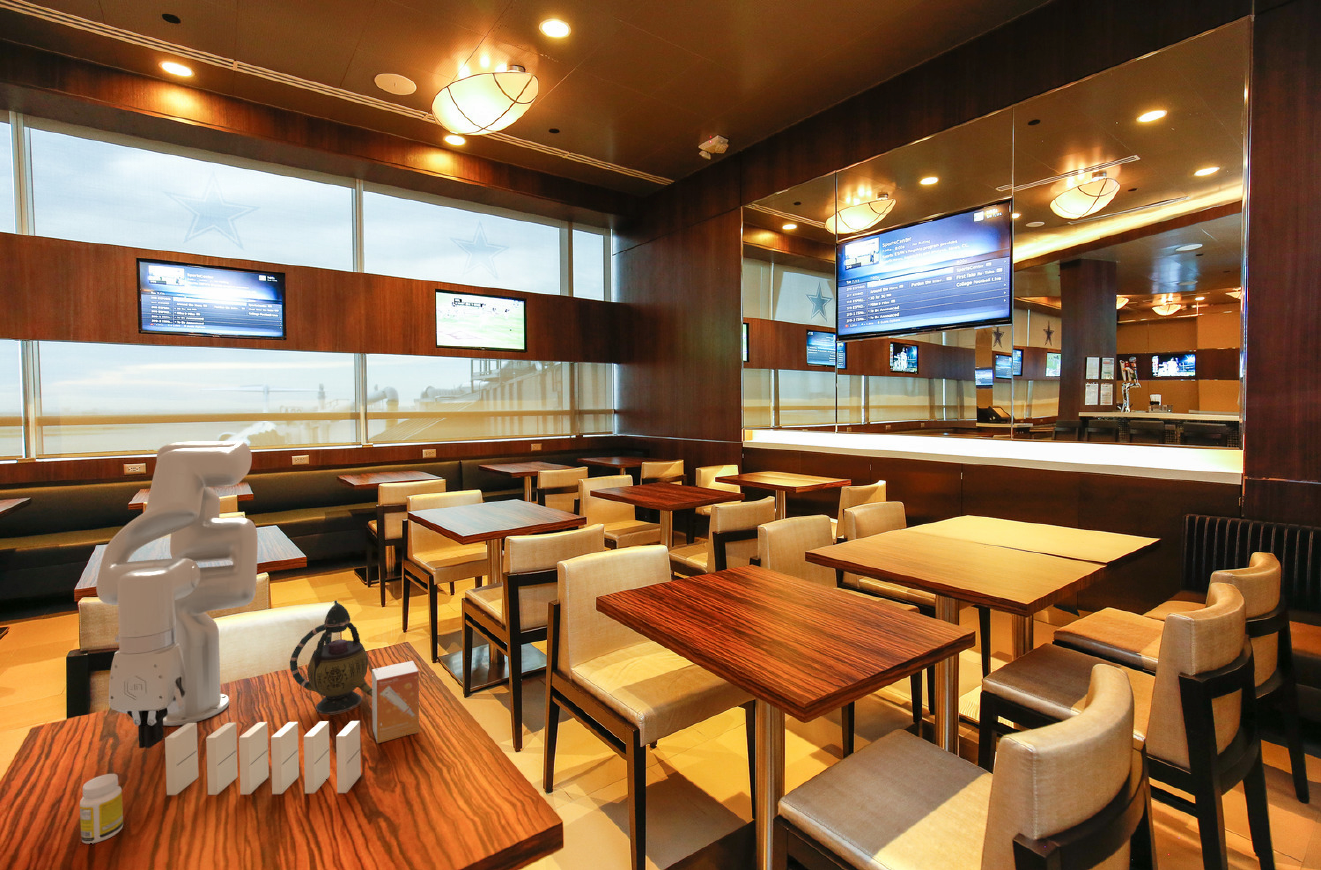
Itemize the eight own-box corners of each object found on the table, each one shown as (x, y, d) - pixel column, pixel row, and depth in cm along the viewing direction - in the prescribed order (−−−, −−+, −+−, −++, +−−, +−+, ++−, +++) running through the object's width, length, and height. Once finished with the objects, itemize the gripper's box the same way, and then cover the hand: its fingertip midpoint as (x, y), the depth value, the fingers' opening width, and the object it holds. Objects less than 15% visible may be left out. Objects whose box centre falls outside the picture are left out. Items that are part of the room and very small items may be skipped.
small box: (376, 744, 117) (375, 680, 117) (372, 730, 122) (371, 668, 122) (420, 732, 121) (419, 670, 121) (413, 719, 127) (413, 659, 126)
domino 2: (207, 794, 102) (206, 737, 101) (228, 776, 107) (227, 722, 106) (217, 794, 102) (215, 737, 101) (237, 776, 107) (236, 722, 106)
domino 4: (272, 794, 102) (270, 737, 101) (289, 776, 107) (288, 721, 106) (281, 793, 102) (280, 736, 101) (299, 776, 107) (297, 721, 106)
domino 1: (166, 795, 102) (164, 737, 101) (189, 777, 107) (187, 722, 106) (176, 794, 102) (174, 737, 101) (198, 777, 107) (196, 722, 106)
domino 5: (304, 793, 102) (303, 736, 102) (320, 775, 107) (319, 721, 107) (314, 793, 102) (313, 736, 102) (330, 775, 107) (329, 721, 107)
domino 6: (337, 792, 102) (336, 736, 102) (351, 775, 107) (350, 721, 107) (346, 792, 102) (345, 736, 102) (360, 775, 107) (359, 721, 107)
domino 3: (240, 794, 102) (239, 737, 101) (259, 776, 107) (258, 722, 106) (250, 794, 102) (248, 737, 101) (268, 776, 107) (267, 722, 106)
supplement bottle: (127, 819, 95) (126, 768, 95) (117, 838, 91) (115, 785, 91) (88, 829, 93) (86, 777, 93) (75, 848, 89) (73, 794, 89)
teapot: (333, 686, 142) (331, 591, 141) (415, 704, 133) (413, 602, 133) (285, 710, 131) (283, 606, 130) (372, 731, 122) (370, 619, 121)
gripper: (84, 649, 99) (87, 756, 100) (174, 648, 99) (177, 755, 100) (124, 632, 107) (127, 732, 107) (207, 632, 107) (210, 732, 108)
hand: (151, 743), depth 104 cm, fingers closed
